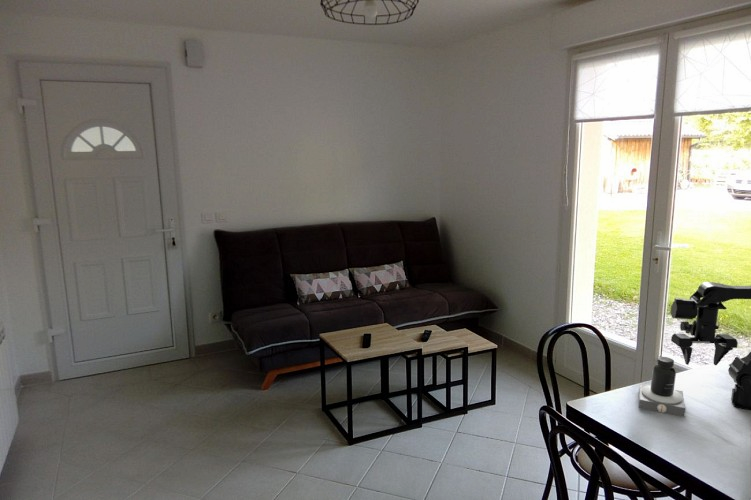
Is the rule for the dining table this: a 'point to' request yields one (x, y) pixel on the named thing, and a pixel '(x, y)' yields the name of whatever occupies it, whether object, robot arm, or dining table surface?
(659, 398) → the kitchen scale
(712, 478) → the dining table surface
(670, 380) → the supplement bottle
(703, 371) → the dining table surface
